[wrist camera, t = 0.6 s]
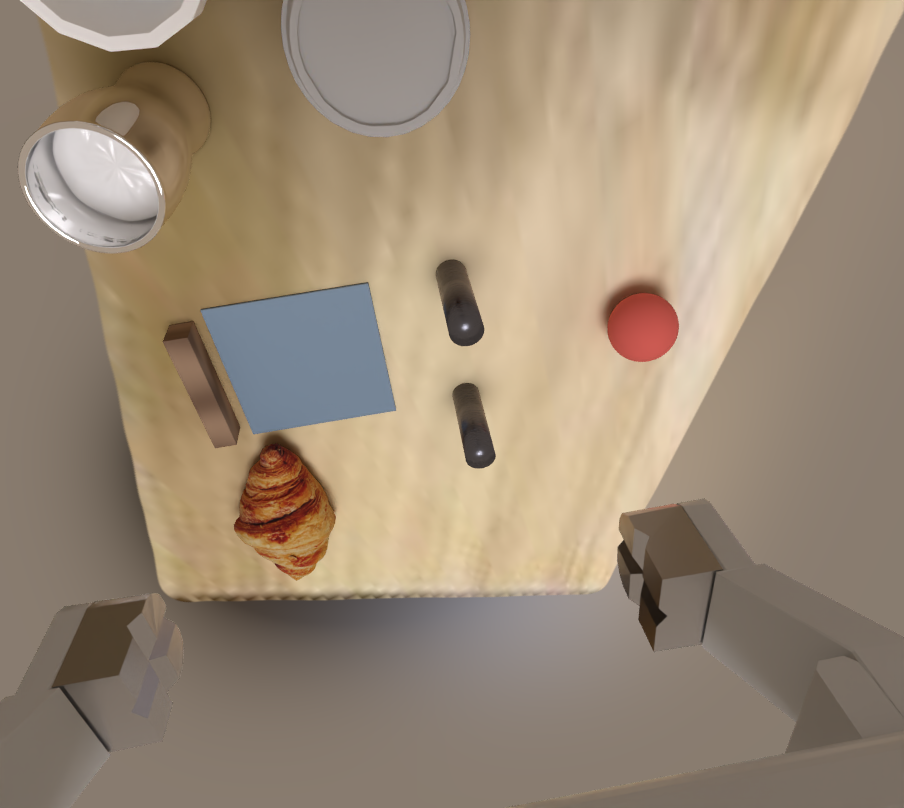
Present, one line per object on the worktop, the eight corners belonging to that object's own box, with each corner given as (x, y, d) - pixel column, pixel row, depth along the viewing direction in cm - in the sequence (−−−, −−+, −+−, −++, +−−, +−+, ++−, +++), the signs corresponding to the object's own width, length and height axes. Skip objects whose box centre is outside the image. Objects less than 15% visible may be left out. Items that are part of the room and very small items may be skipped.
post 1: (434, 262, 51) (447, 319, 45) (464, 257, 52) (482, 313, 45) (437, 290, 53) (451, 348, 46) (467, 285, 53) (485, 343, 46)
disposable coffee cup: (386, 121, 44) (396, 179, 35) (266, 21, 40) (241, 58, 30) (475, -1, 40) (513, 28, 31) (353, -128, 36) (354, -137, 26)
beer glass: (89, 119, 42) (-10, 203, 30) (135, 27, 39) (44, 81, 27) (188, 183, 45) (133, 281, 34) (237, 103, 42) (194, 180, 31)
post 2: (451, 385, 60) (464, 449, 53) (477, 381, 60) (494, 444, 53) (454, 406, 61) (467, 470, 55) (479, 401, 62) (496, 465, 55)
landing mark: (200, 309, 51) (200, 310, 51) (368, 282, 52) (368, 283, 52) (253, 432, 60) (253, 434, 60) (395, 409, 61) (395, 410, 61)
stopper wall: (169, 325, 52) (162, 341, 50) (193, 321, 52) (187, 337, 50) (219, 430, 60) (215, 448, 58) (240, 427, 60) (236, 444, 58)
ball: (600, 286, 55) (623, 322, 50) (666, 275, 55) (695, 310, 51) (597, 342, 59) (618, 380, 54) (659, 332, 59) (685, 369, 54)
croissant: (326, 537, 77) (357, 583, 72) (248, 577, 72) (276, 629, 67) (301, 408, 63) (337, 453, 58) (202, 447, 59) (233, 500, 54)
